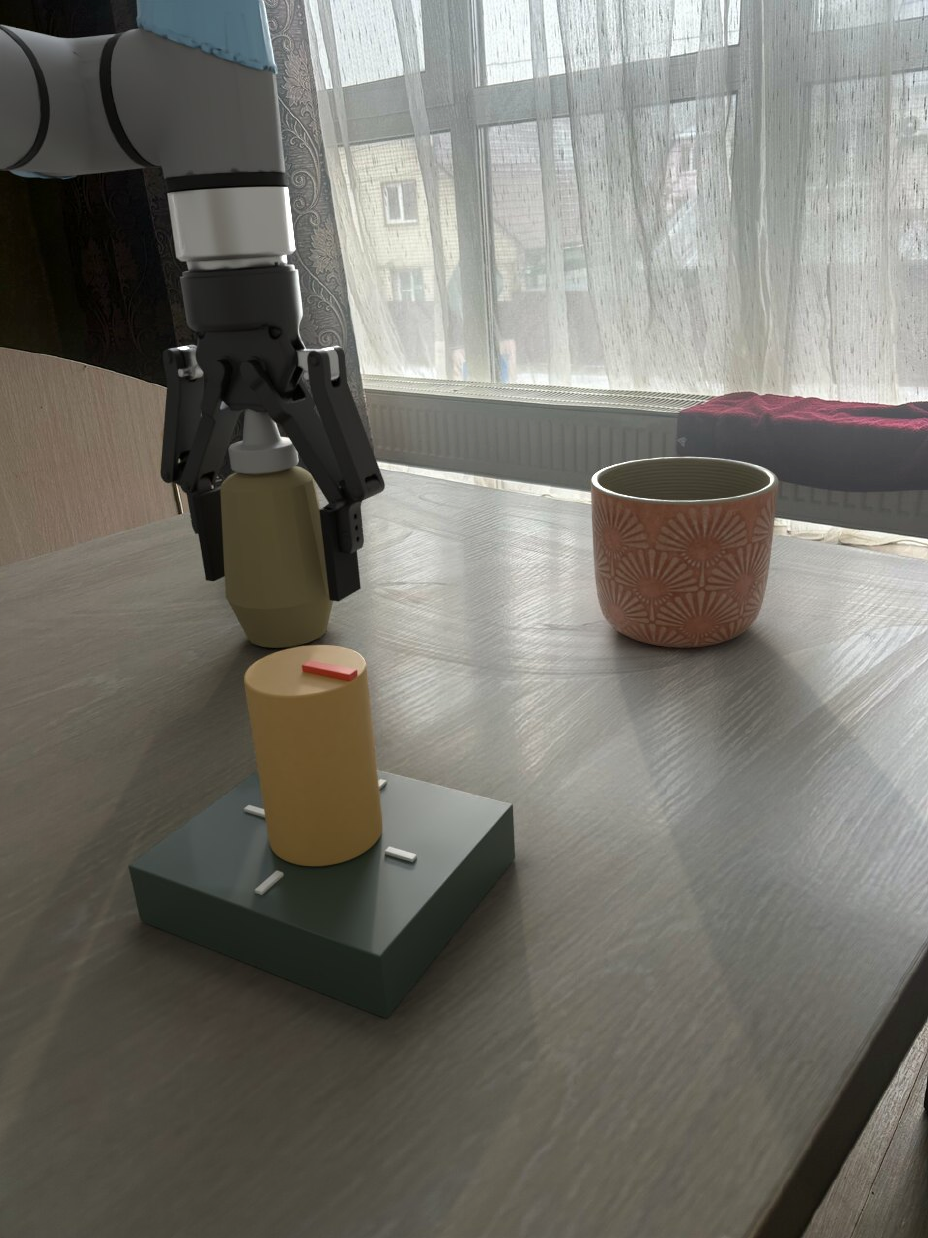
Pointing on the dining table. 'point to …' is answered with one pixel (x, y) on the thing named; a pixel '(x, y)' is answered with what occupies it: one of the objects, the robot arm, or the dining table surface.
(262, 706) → the dial
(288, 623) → the squeeze bottle
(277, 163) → the robot arm
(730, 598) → the planter
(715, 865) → the dining table surface
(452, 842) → the panel
